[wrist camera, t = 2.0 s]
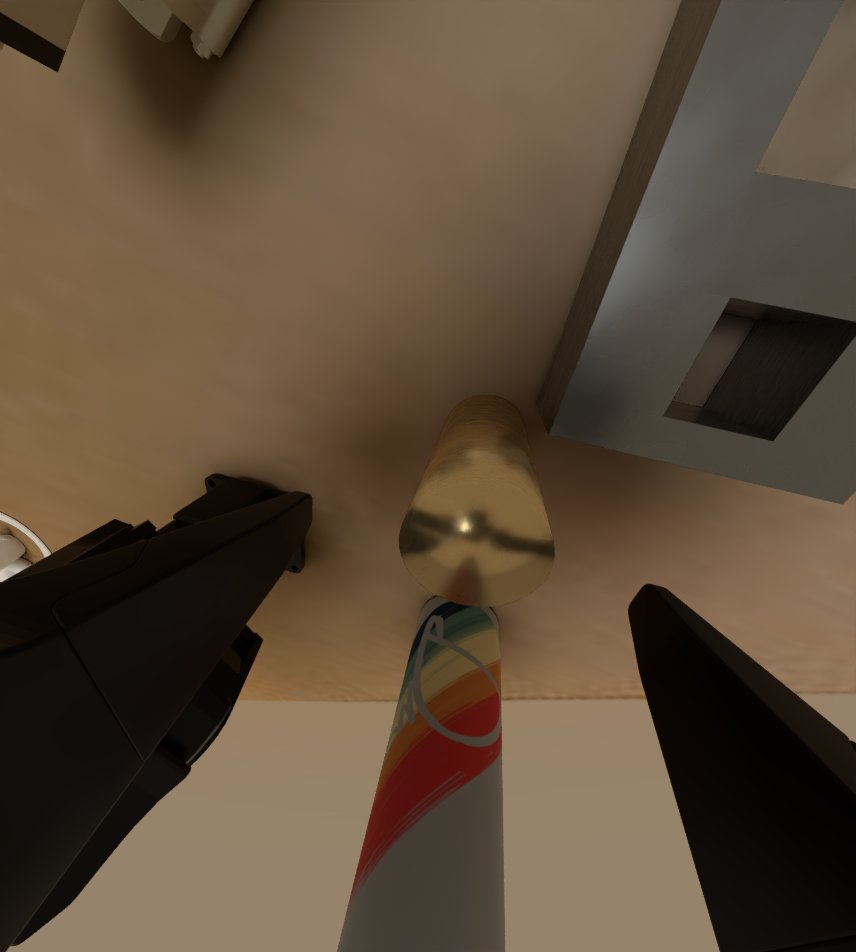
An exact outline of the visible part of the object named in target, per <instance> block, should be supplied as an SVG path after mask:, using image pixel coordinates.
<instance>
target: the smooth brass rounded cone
mask: <svg viewBox="0 0 856 952" xmlns="http://www.w3.org/2000/svg"><path fill="white" fill-rule="evenodd" d="M399 548H400V553H401V556H402V559H403V562H404V564H405V565H406V567H407V569H408V571H409V572H410V573H411V575H412V576H413V577H414V578H415V579H416V580H417V581H418V582H419V583H420V584H421V585H422V586H423V587H425V588H426V589H427V590H429V591H430V592H432V593H434V594H435V595H437V596H439V597H441V598H443V599H446V600H448V601H451V602H454V603H458V604H462V605H467V606H474V607H493V606H500V605H505V604H509V603H512V602H515V601H518V600H520V599H522V598H524V597H526V596H527V595H529V594H531V593H532V592H534V591H535V590H536V589H537V588H538V587H539V586H540V585H541V584H542V583H543V582H544V581H545V579H546V578H547V576H548V574H549V573H550V570H551V568H552V565H553V561H554V550H555V549H554V542H553V537H552V534H551V530H550V526H549V522H548V518H547V514H546V510H545V506H544V502H543V498H542V494H541V490H540V486H539V482H538V478H537V474H536V470H535V467H534V463H533V459H532V455H531V451H530V447H529V443H528V439H527V435H526V431H525V427H524V423H523V420H522V418H521V415H520V414H519V412H518V411H517V409H516V408H515V407H514V406H513V405H512V404H511V403H509V402H508V401H506V400H504V399H502V398H500V397H497V396H492V395H478V396H473V397H470V398H468V399H466V400H464V401H462V402H461V403H459V404H458V405H457V406H456V407H455V408H454V409H453V410H452V412H451V413H450V415H449V417H448V419H447V421H446V423H445V426H444V428H443V430H442V433H441V435H440V437H439V440H438V442H437V444H436V447H435V449H434V451H433V454H432V456H431V458H430V461H429V463H428V465H427V468H426V470H425V472H424V475H423V477H422V479H421V481H420V484H419V486H418V488H417V491H416V493H415V495H414V498H413V500H412V502H411V505H410V507H409V509H408V512H407V514H406V516H405V519H404V521H403V523H402V526H401V530H400V534H399Z"/></svg>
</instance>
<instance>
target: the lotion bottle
mask: <svg viewBox="0 0 856 952" xmlns="http://www.w3.org/2000/svg"><path fill="white" fill-rule="evenodd" d="M501 732H502V727H501V665H500V632H499V624H498V620H497V618H496V616H495V614H494V612H493V611H492V610H491V609H490V608H489V607H474V606H467V605H462V604H458V603H454V602H451V601H448V600H446V599H443V598H441V597H439V596H437V597H435V598H433V599H431V600H430V601H429V602H427V603H426V605H425V606H424V607H423V609H422V611H421V614H420V617H419V620H418V624H417V628H416V632H415V636H414V640H413V644H412V648H411V652H410V656H409V660H408V664H407V668H406V672H405V676H404V680H403V684H402V688H401V692H400V696H399V700H398V705H397V709H396V713H395V717H394V721H393V725H392V729H391V733H390V737H389V741H388V745H387V749H386V753H385V757H384V761H383V766H382V770H381V774H380V778H379V782H378V786H377V790H376V794H375V798H374V803H373V807H372V810H371V814H370V819H369V822H368V826H367V831H366V835H365V839H364V843H363V847H362V851H361V855H360V859H359V863H358V867H357V872H356V875H355V879H354V883H353V888H352V892H351V896H350V900H349V904H348V908H347V912H346V917H345V921H344V925H343V929H342V933H341V937H340V941H339V946H338V950H337V952H505V914H504V913H505V912H504V854H503V853H504V851H503V793H502V792H503V788H502V733H501Z"/></svg>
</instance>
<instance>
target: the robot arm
mask: <svg viewBox="0 0 856 952" xmlns="http://www.w3.org/2000/svg"><path fill="white" fill-rule="evenodd" d="M205 485H206V490H207V493H206V494H205V495H203V496H202V497H200V498H198V499H197V500H195V501H194V502H192V503H191V504H189V505H187V506H186V507H184V508H183V509H181V510H180V511H178V512H177V513H175V514H174V515H173V519H174V520H173V521H172V522H170V523H168V524H167V525H165V526H164V527H162V528H161V529H159V530H158V531H156V530H155V529H156V527H155V526H154V525H153V524H152V523H151V522H150V521H149V520H147V521H145V522H143V523H141V524H139V525H137V526H135V527H133V526H132V525H131V524H127V523H124V522H122V521H119V520H116V519H114V520H112V521H110V522H108V523H106V524H105V525H103V526H101V527H99V528H97V529H96V530H94V531H92V532H90V533H88V534H87V535H85V536H83V537H81V538H79V539H77V540H76V541H74V542H72V543H70V544H68V545H67V546H65V547H63V548H61V549H59V550H58V551H56V552H54V553H52V554H50V555H49V556H47V557H45V558H43V559H42V560H40V561H38V562H36V563H34V564H33V565H31V566H29V567H27V568H25V569H24V570H22V571H20V572H18V573H17V574H15V575H13V576H11V577H9V578H8V579H6V580H4V581H2V582H0V952H6V951H7V949H8V948H9V947H10V946H16V945H19V944H21V943H22V942H24V941H25V940H26V939H27V938H29V937H30V936H32V935H33V934H34V933H35V932H37V931H38V930H39V929H40V928H41V927H43V926H44V925H45V924H46V923H48V922H49V921H50V920H52V919H53V918H54V917H55V916H56V915H58V914H59V913H60V912H62V911H63V910H64V909H65V908H66V907H67V906H69V905H70V904H71V903H72V902H73V900H74V899H75V898H76V897H77V896H78V895H79V894H80V892H81V891H82V890H83V889H84V887H85V886H86V885H87V884H88V882H89V881H90V880H91V879H92V877H93V876H94V875H95V874H96V872H97V871H98V870H99V869H100V867H101V866H102V865H103V864H104V862H105V861H106V860H107V859H108V857H109V856H110V855H111V854H112V853H113V851H114V850H115V849H116V848H117V846H118V845H119V844H120V843H121V842H122V840H123V839H124V838H125V837H126V835H128V833H129V832H130V831H131V830H132V829H133V827H134V826H135V825H136V824H137V823H138V822H139V821H140V820H141V819H142V818H143V817H144V816H145V815H146V814H147V813H148V812H149V811H150V810H151V809H152V808H153V806H155V804H156V803H157V802H158V801H159V800H160V799H162V798H163V797H164V796H165V795H166V794H167V793H168V792H170V791H171V790H172V789H173V788H174V787H175V786H176V785H178V784H179V783H180V782H181V781H182V780H183V779H185V778H186V777H187V775H188V774H189V772H190V770H191V765H192V764H193V763H194V762H196V761H197V760H198V758H199V757H200V756H201V755H202V754H203V753H204V752H205V751H206V750H207V749H208V747H209V746H210V745H211V744H212V742H213V741H214V740H215V738H216V737H217V736H218V734H219V733H220V731H221V730H222V728H223V727H224V725H225V724H226V722H227V720H228V718H229V716H230V713H231V712H232V710H233V707H234V705H235V703H236V701H237V698H238V696H239V694H240V692H241V689H242V687H243V685H244V683H245V680H246V678H247V676H248V674H249V671H250V669H251V667H252V665H253V662H254V660H255V658H256V656H257V653H258V651H259V649H260V647H261V644H262V642H263V639H262V638H261V637H260V636H259V635H258V634H257V633H254V632H253V631H252V630H251V629H250V628H249V627H248V626H247V625H246V623H247V622H248V621H249V619H250V618H251V616H252V615H253V614H254V612H255V611H256V610H257V608H258V607H259V605H260V604H261V603H262V601H263V600H264V599H265V597H266V596H267V595H268V593H269V592H270V590H271V589H272V588H273V586H274V585H275V584H276V582H277V581H278V580H279V578H280V577H281V575H282V574H283V572H284V571H285V570H286V571H289V572H293V573H300V572H301V571H302V569H303V568H304V536H305V534H306V533H307V531H308V529H309V527H310V525H311V523H312V496H311V495H310V494H308V493H304V492H300V491H294V492H291V493H284V492H280V491H276V490H273V489H269V488H265V487H261V486H258V485H254V484H250V483H246V482H243V481H239V480H235V479H232V478H228V477H224V476H220V475H217V474H212V475H210V476H208V477H206V479H205ZM628 615H629V621H630V626H631V631H632V637H633V642H634V648H635V653H636V659H637V664H638V669H639V673H640V677H641V681H642V685H643V688H644V692H645V695H646V698H647V702H648V705H649V709H650V712H651V716H652V719H653V723H654V726H655V730H656V733H657V736H658V740H659V743H660V747H661V750H662V754H663V757H664V761H665V764H666V768H667V771H668V774H669V778H670V781H671V785H672V788H673V792H674V795H675V799H676V802H677V806H678V809H679V812H680V816H681V819H682V823H683V826H684V830H685V833H686V836H687V840H688V844H689V847H690V850H691V853H692V857H693V861H694V864H695V868H696V871H697V875H698V878H699V882H700V885H701V888H702V892H703V895H704V898H705V902H706V906H707V909H708V913H709V916H710V920H711V923H712V926H713V930H714V933H715V937H716V940H717V944H718V947H719V951H720V952H856V743H855V742H853V741H850V740H849V738H848V737H847V736H846V735H845V734H844V733H843V732H842V731H840V730H839V729H838V728H836V727H835V726H834V725H833V724H832V723H831V722H829V721H828V720H827V719H826V718H824V717H823V716H822V715H821V714H819V713H818V712H817V711H816V710H814V709H813V708H812V707H811V706H810V705H808V704H807V703H806V702H805V701H804V700H802V699H801V698H800V697H799V696H797V695H796V694H795V693H794V692H793V691H791V690H790V689H789V688H788V687H786V686H785V685H784V684H783V683H781V682H780V681H779V680H778V679H777V678H775V677H774V676H773V675H772V674H770V673H769V672H768V671H767V670H766V669H764V668H763V667H762V666H761V665H759V664H758V663H757V662H756V661H754V660H753V659H752V658H751V657H750V656H748V655H747V654H746V653H745V652H743V651H742V650H741V649H740V648H739V647H737V646H736V645H735V644H734V643H732V642H731V641H730V640H729V639H728V638H726V637H725V636H724V635H723V634H721V633H720V632H719V631H718V630H716V629H715V628H714V627H713V626H712V625H710V624H709V623H708V622H707V621H705V620H704V619H703V618H702V617H701V616H699V615H698V614H697V613H696V612H694V611H693V610H692V609H691V608H690V607H688V606H687V605H686V604H685V603H683V602H682V601H681V600H680V599H678V598H677V597H676V596H675V595H674V594H672V593H671V592H670V591H669V590H667V589H666V588H664V587H661V586H657V585H653V584H645V585H644V586H643V587H642V588H641V589H640V591H639V592H638V593H637V595H636V596H635V597H634V599H633V600H632V601H631V603H630V605H629V608H628Z"/></svg>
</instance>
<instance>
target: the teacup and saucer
mask: <svg viewBox="0 0 856 952" xmlns="http://www.w3.org/2000/svg"><path fill="white" fill-rule="evenodd" d="M0 520H2V521H5V522H7V523H9V524H11V525H13V526H15V527H17V528H18V529H20V530H21V531H23V532H24V533H25V534H26V535H28V536H29V537H30V538H31V539H32V540H33V541H34V542H35V543H36V544H37V545H38V547H39V548H40V549H41V551H42V552H43V554H44V557H47V556H49V555H50V554H51V552H50V551H49V549H48V548H47V547H46V545H45V544H44V543H43V542H42V541H41V540H40V539H39V538H38V537H37V536H36V535H35V534H34V533H33V532H32V531H30V530H29V529H28V528H27V527H25V526H24V525H22V524H21V523H19V522H18V521H16V520H15V519H13V518H11V517H9V516H7V515H5V514H3V513H1V512H0ZM25 551H26V550H25V547H24V545H23V544H22V543H21V542H20V541H19V540H18V539H16V538H15V537H13V536H11V535H7V534H5V535H0V582H2V581H4V580H6V579H8V578H9V577H11V576H13V575H15V574H17V573H18V572H20V571H22V570H24V569H25V568H27V567H29V566H31V565H33V564H31V563H30V562H29V561H27V560H25V559H22V558H20V557H21V556H22V555H23V554H24V552H25Z"/></svg>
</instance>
